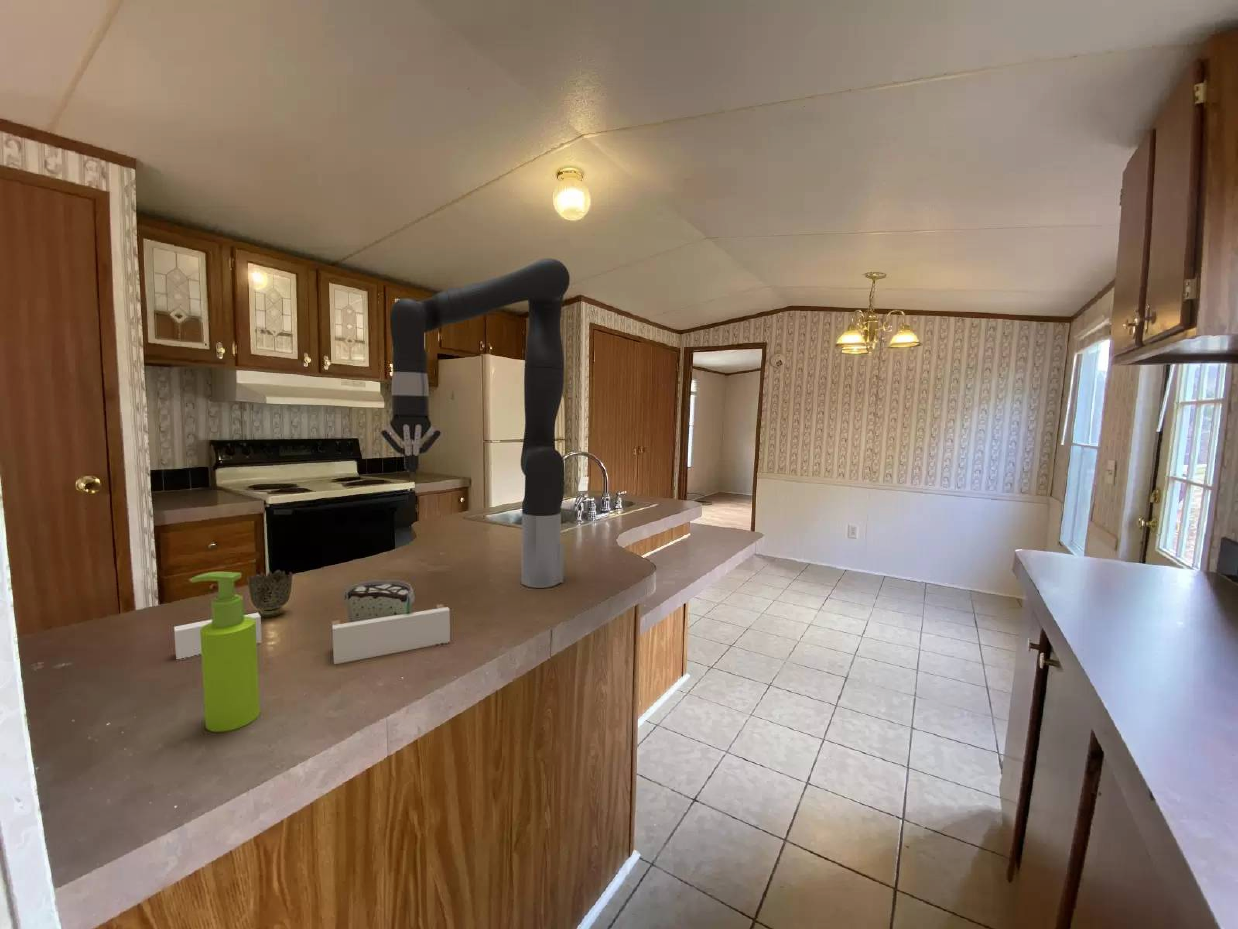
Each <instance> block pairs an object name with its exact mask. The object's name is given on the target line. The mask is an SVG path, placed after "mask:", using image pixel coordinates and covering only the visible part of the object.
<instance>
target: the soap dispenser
mask: <svg viewBox="0 0 1238 929" xmlns="http://www.w3.org/2000/svg"><path fill="white" fill-rule="evenodd" d="M241 578H242V573H241V572H233V571H210V572H205V573H202V574H198V575H196V576H194V577H192V578H189V579H188V581H189V582H190V583H197V582H206V581H208V582H210V581H211V582H217V587H218V596H216V597H215V598H213V599H212V600H211V602H210V607H211V608H210V609H211V613H210V614H211V619H212V622H211V623H208V624H206V625H205V626H203V627H202V628H201V629H200V638H201V655H200V656H201V669H202V682H203V684H202V686H203V703H204V704H203V705H204V718H205V719H204V721H205V728H206V729H207V730H209V731H210V732H217V733H220V732H221V733H222V732H230V731H233V730H237V729H239V728H242V727H245V726H246V725H249V724H251V723H252V722H254V721H255V720H257V718H258V717H259V715H260V711H261V710H260V709H261V707H260V690H259V667H258V665H259V664H258V650H257V649H258V648H257V647H258V646H257V645H258V644H257V643H256V621H255V619H254V618H252V617H245V616H244V615H245V613H244V597H243V595H241V594H240V595H239V594H237V593H236V590H235V589H236V588H235V581H237V580H239V579H241Z"/></svg>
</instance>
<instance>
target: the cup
mask: <svg viewBox="0 0 1238 929" xmlns="http://www.w3.org/2000/svg"><path fill="white" fill-rule="evenodd" d="M292 581H293V572H291V571H290V572H289V573H288V574H286V571H285V570H283V571H282V570H280V569H277V570H276V571H274V572H273V573H272V572H271V571H270V570H268V572H267V574H265V573H264V572H260V574H258V573H255V575H254V576H253V575H250V578H249V577H247V578H246V582H247V586H248V593H249V596H250V600H251V604H253V607H255V608H256V609H258V610H260V613H259V614H260V616H262V617H264V618H274V616H275V617H278V616H279V615H281V614H282V613H283V611H284V609H283V606H285V605H286V604H287V603H288V602H289V599H290V598H291V592H292V583H293V582H292Z"/></svg>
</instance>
